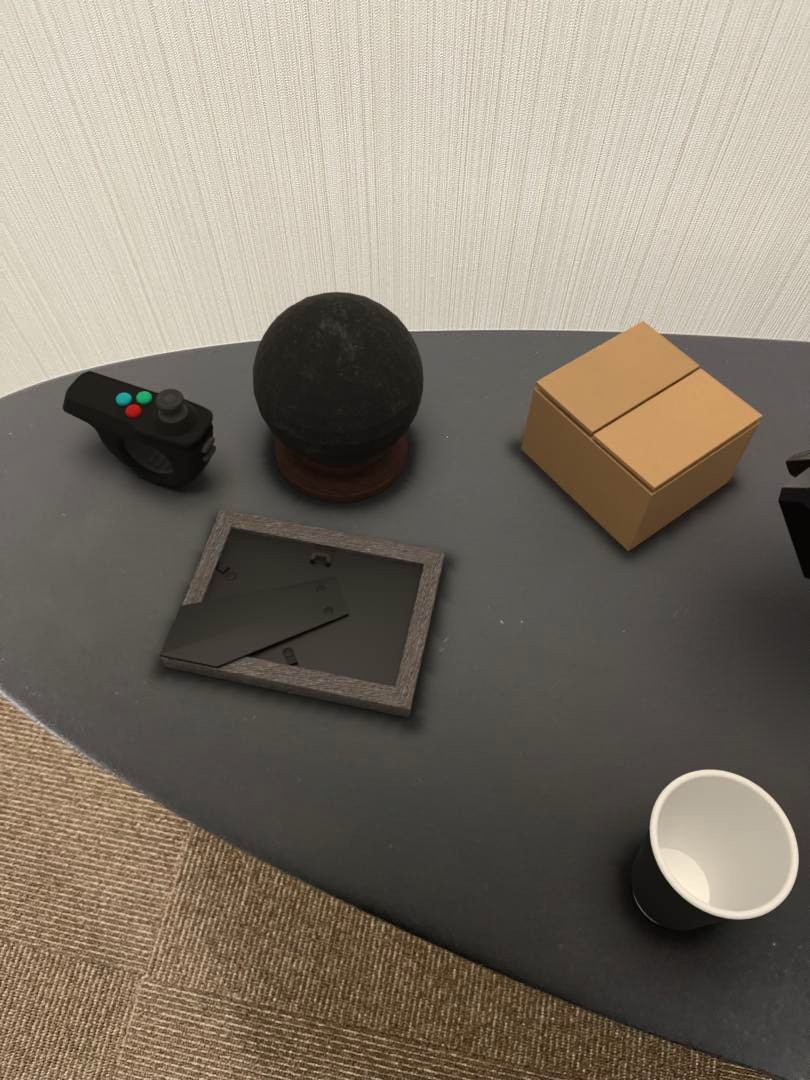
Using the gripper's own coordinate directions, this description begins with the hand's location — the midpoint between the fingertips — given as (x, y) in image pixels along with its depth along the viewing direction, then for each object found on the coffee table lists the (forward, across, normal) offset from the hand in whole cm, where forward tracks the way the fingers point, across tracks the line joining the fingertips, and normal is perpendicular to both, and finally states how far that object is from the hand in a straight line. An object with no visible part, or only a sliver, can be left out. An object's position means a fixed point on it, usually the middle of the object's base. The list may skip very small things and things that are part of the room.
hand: (790, 465), depth 62 cm
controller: (+33, +32, -16) cm, 49 cm away
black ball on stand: (+28, +18, -11) cm, 35 cm away
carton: (+17, 0, 0) cm, 17 cm away
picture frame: (+20, +29, -3) cm, 36 cm away
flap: (+9, 0, -3) cm, 10 cm away
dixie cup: (-1, +22, +19) cm, 29 cm away
